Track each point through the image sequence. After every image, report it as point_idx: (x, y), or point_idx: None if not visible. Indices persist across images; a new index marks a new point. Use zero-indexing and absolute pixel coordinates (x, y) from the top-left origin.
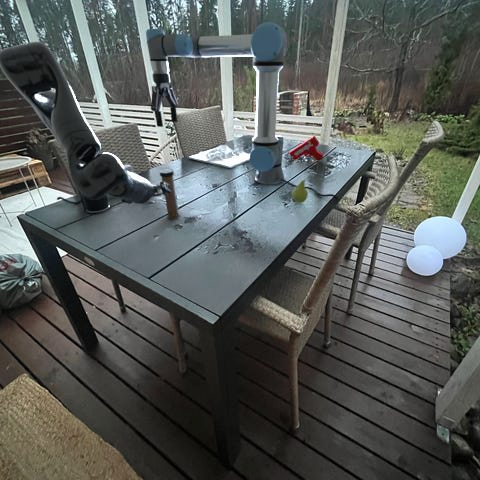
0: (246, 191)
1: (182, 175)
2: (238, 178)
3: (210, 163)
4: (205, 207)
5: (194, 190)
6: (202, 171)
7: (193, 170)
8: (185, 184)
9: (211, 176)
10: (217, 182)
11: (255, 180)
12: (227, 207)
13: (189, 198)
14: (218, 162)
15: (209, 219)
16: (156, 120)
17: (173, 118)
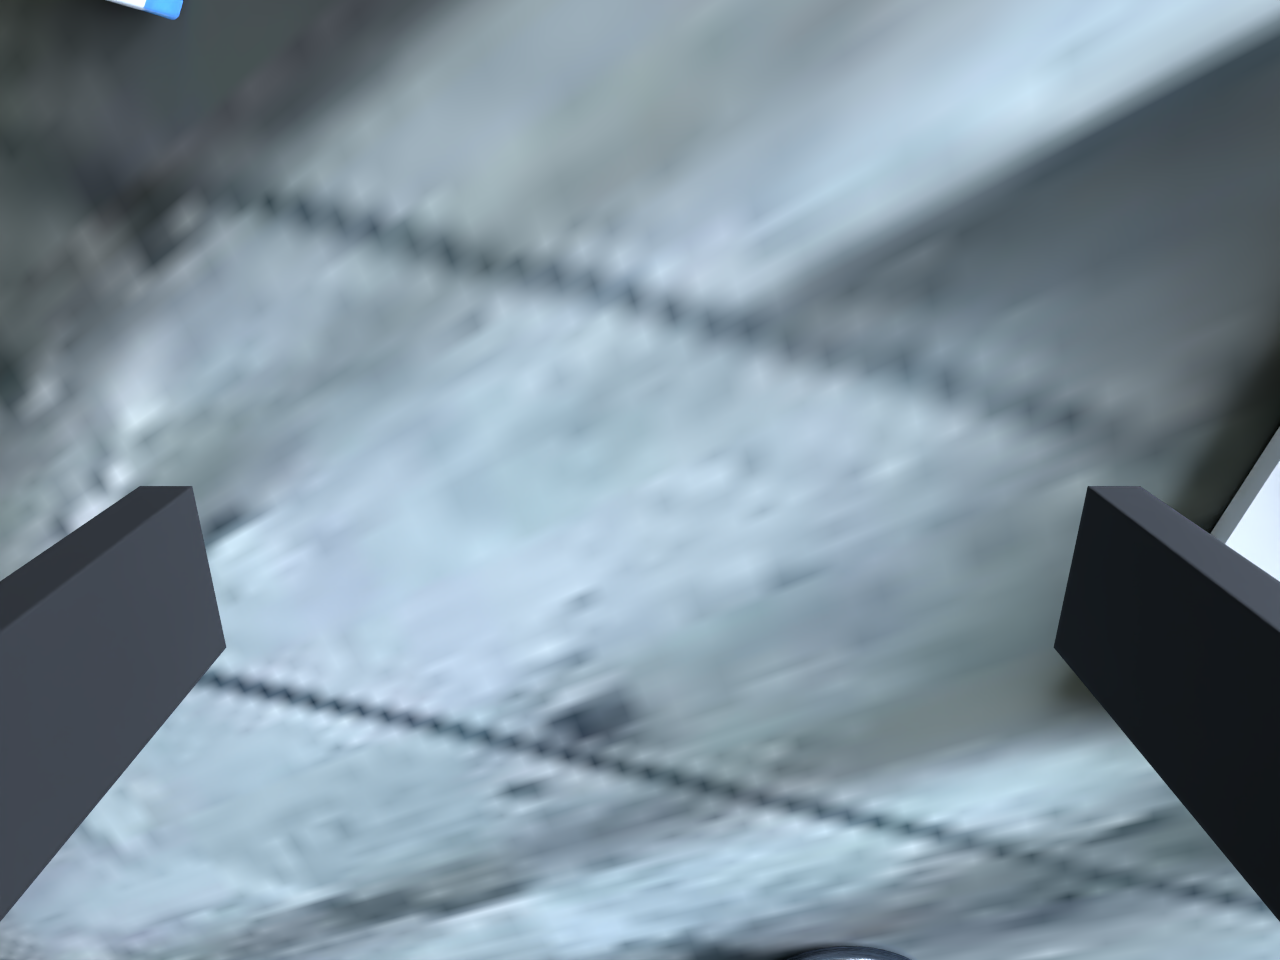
0: (566, 945)
1: (781, 298)
2: (828, 830)
3: (1274, 434)
4: (180, 801)
5: (429, 606)
6: (965, 458)
7: (985, 341)
8: (533, 464)
9: (825, 606)
10: (681, 711)
11: (796, 957)
12: (255, 915)
13: (259, 640)
14: (1257, 547)
15: (46, 879)
16: (17, 583)
17: (1129, 603)
